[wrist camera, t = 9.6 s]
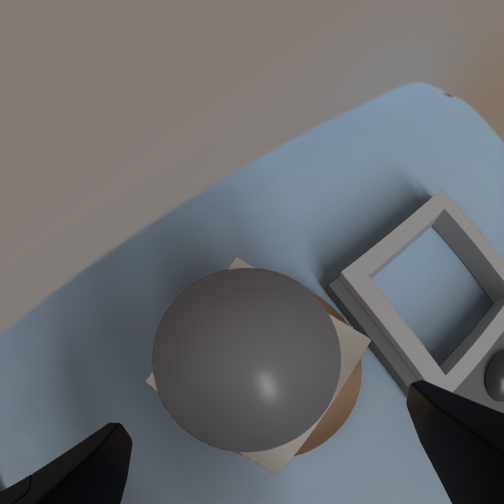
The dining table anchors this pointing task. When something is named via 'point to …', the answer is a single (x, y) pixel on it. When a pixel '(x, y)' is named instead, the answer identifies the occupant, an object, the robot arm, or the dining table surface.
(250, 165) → the dining table surface
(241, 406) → the white carton with cap
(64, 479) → the robot arm
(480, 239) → the grey control panel
